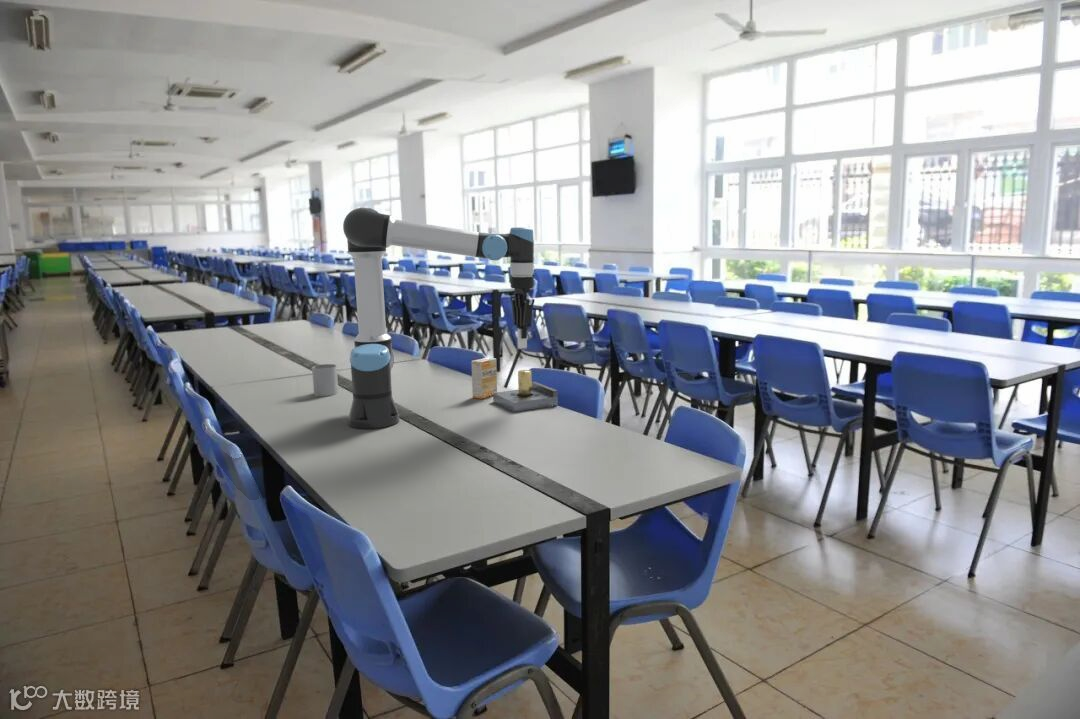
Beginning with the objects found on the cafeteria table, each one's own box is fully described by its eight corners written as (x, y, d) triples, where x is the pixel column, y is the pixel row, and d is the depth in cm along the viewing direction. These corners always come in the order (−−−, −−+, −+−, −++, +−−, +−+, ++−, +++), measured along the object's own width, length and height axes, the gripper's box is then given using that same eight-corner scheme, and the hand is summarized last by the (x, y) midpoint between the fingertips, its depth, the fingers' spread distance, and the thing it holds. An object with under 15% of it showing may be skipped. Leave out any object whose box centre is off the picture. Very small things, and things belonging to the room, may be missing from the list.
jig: (514, 412, 239) (513, 396, 238) (493, 401, 253) (492, 387, 252) (557, 405, 246) (557, 390, 245) (535, 395, 260) (534, 381, 259)
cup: (341, 391, 273) (339, 364, 271) (333, 396, 265) (331, 368, 263) (319, 390, 274) (317, 364, 272) (310, 396, 266) (308, 368, 264)
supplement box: (482, 399, 256) (481, 361, 254) (472, 397, 259) (470, 360, 257) (498, 394, 263) (497, 358, 260) (487, 392, 265) (486, 356, 263)
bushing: (522, 405, 246) (521, 373, 244) (516, 403, 250) (515, 370, 248) (534, 404, 248) (533, 371, 246) (528, 401, 252) (527, 369, 250)
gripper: (541, 276, 237) (541, 350, 242) (523, 274, 249) (523, 344, 253) (520, 277, 234) (520, 351, 238) (502, 274, 245) (503, 345, 250)
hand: (522, 347), depth 246 cm, fingers closed
